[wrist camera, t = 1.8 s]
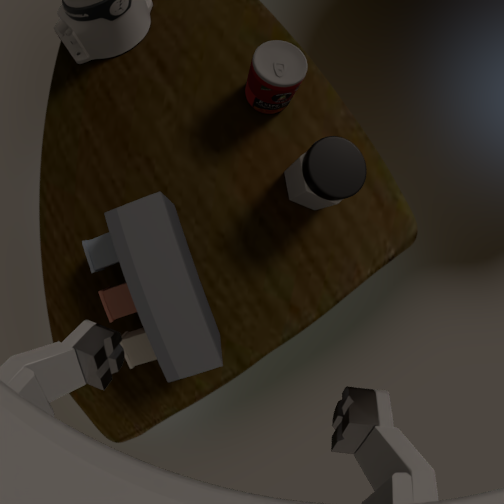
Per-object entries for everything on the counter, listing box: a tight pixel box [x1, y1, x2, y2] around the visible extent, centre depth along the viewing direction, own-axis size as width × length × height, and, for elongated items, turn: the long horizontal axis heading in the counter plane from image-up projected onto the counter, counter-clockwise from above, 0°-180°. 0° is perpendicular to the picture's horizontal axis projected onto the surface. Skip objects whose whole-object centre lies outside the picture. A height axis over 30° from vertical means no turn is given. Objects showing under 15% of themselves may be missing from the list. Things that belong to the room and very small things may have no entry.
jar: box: [284, 136, 366, 210], centre depth 43 cm, size 9×8×12 cm
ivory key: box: [120, 327, 157, 369], centre depth 41 cm, size 8×4×4 cm, turn 109°
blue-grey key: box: [82, 232, 119, 273], centre depth 40 cm, size 8×4×4 cm, turn 109°
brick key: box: [98, 282, 137, 322], centre depth 40 cm, size 8×4×4 cm, turn 109°
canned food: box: [245, 40, 308, 114], centre depth 42 cm, size 8×8×11 cm
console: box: [104, 192, 223, 382], centre depth 40 cm, size 7×21×13 cm, turn 19°
